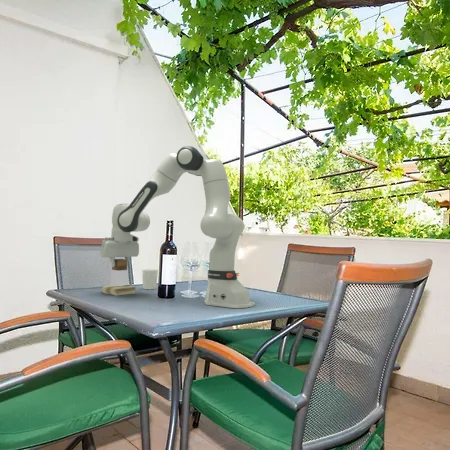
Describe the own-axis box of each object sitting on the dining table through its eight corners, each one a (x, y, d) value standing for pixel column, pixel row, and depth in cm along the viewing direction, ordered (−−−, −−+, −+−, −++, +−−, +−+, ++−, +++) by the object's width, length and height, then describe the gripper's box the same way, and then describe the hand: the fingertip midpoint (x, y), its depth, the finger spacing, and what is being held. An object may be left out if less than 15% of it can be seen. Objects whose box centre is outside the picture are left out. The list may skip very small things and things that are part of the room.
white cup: (139, 289, 217) (139, 269, 217) (146, 287, 224) (146, 268, 225) (152, 290, 215) (153, 270, 215) (159, 288, 222) (160, 269, 222)
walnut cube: (126, 270, 202) (127, 259, 203) (118, 270, 199) (118, 259, 199) (120, 269, 206) (120, 258, 206) (111, 269, 202) (112, 259, 202)
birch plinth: (135, 293, 203) (135, 286, 203) (116, 295, 194) (116, 288, 194) (120, 290, 210) (121, 284, 210) (102, 292, 201) (102, 286, 201)
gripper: (106, 237, 192) (105, 268, 192) (141, 238, 208) (140, 266, 208) (98, 237, 196) (97, 266, 196) (133, 237, 212) (132, 265, 212)
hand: (119, 266), depth 202 cm, fingers closed on walnut cube, 5 cm apart
